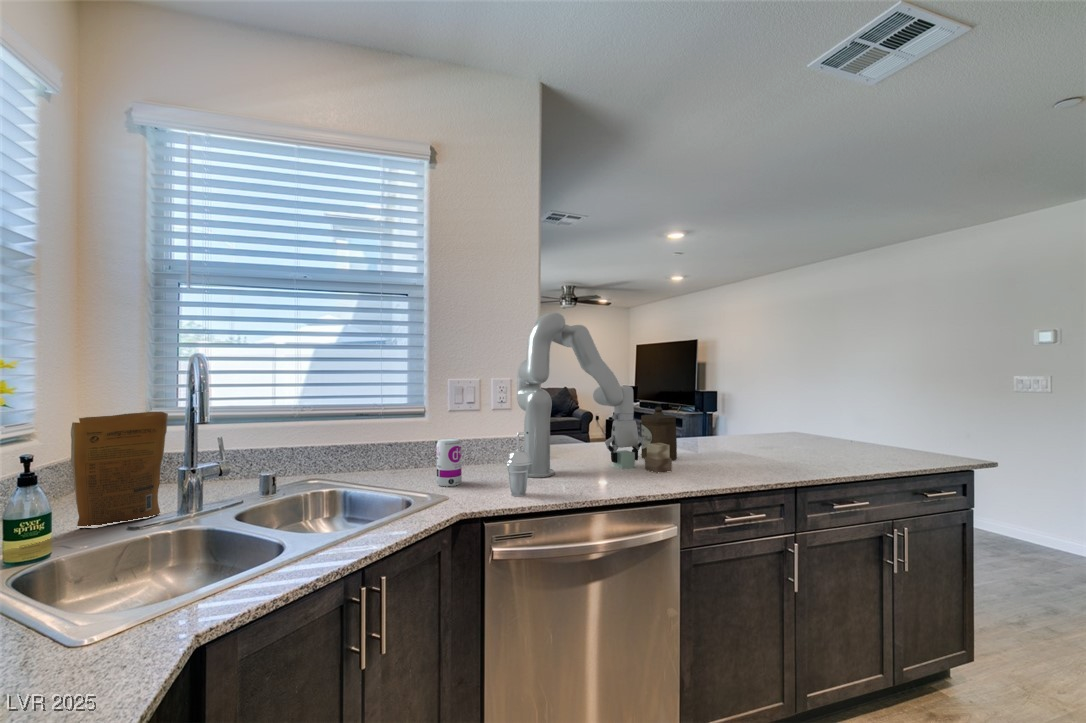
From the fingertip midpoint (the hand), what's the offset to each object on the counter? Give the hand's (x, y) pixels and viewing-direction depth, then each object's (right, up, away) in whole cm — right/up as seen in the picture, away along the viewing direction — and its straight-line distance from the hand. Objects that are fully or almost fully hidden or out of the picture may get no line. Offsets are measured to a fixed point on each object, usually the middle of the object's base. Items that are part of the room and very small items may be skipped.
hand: (624, 461), depth 192 cm
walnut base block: (+11, -2, -7) cm, 14 cm away
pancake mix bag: (-140, -2, -67) cm, 155 cm away
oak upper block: (+11, +3, -7) cm, 14 cm away
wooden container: (+18, -3, +18) cm, 25 cm away
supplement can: (-64, -3, -27) cm, 69 cm away
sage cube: (0, -2, 0) cm, 2 cm away
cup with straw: (-40, -2, -41) cm, 57 cm away
